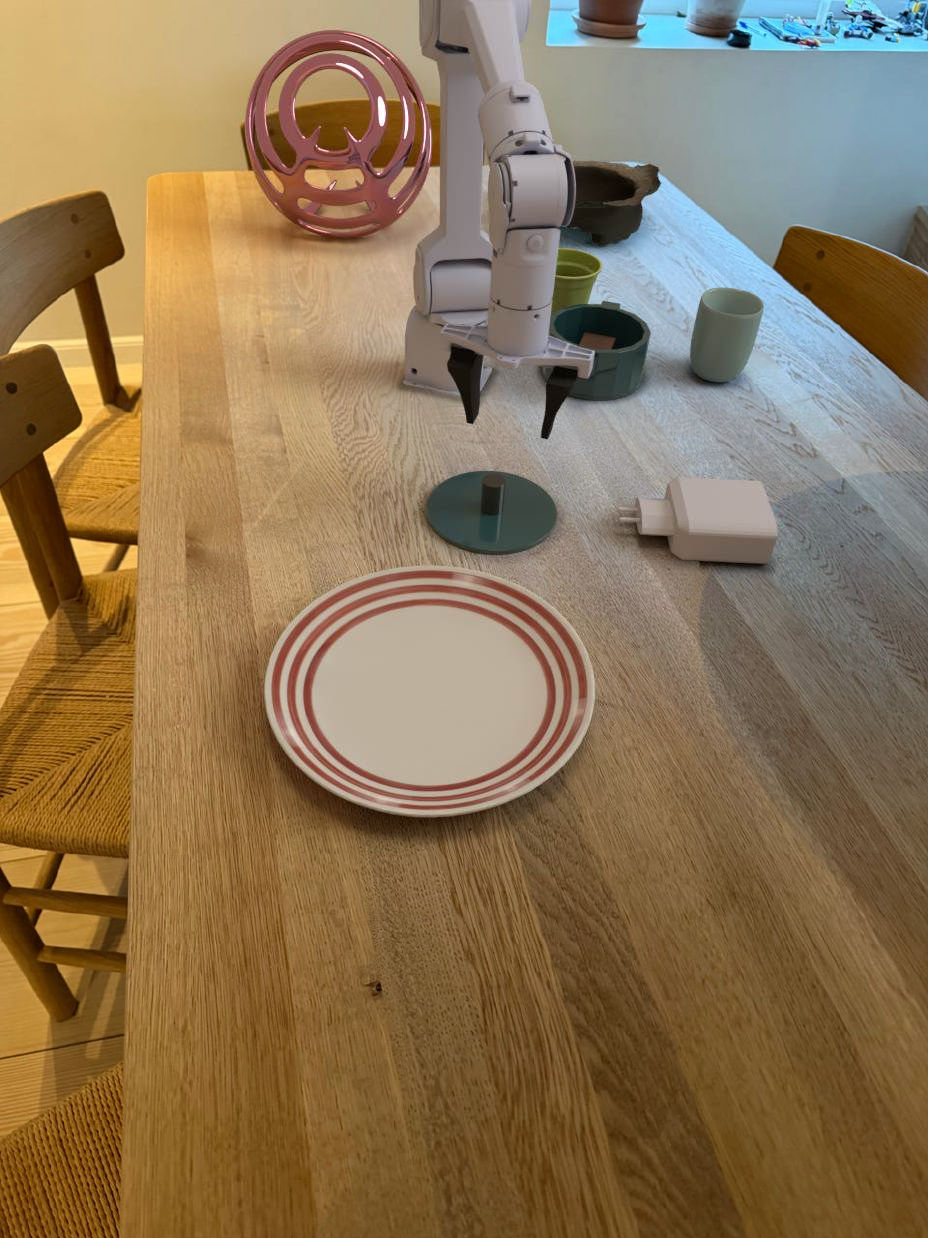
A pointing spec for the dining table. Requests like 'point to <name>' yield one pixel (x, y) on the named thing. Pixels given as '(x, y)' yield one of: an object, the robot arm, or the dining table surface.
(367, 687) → the dinner plate
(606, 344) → the block
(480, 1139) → the dining table surface
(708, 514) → the charger
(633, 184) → the stone bowl
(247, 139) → the pink openwork sphere
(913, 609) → the dining table surface
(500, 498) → the lid
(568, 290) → the plant pot
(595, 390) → the pot
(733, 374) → the cup
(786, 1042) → the dining table surface
